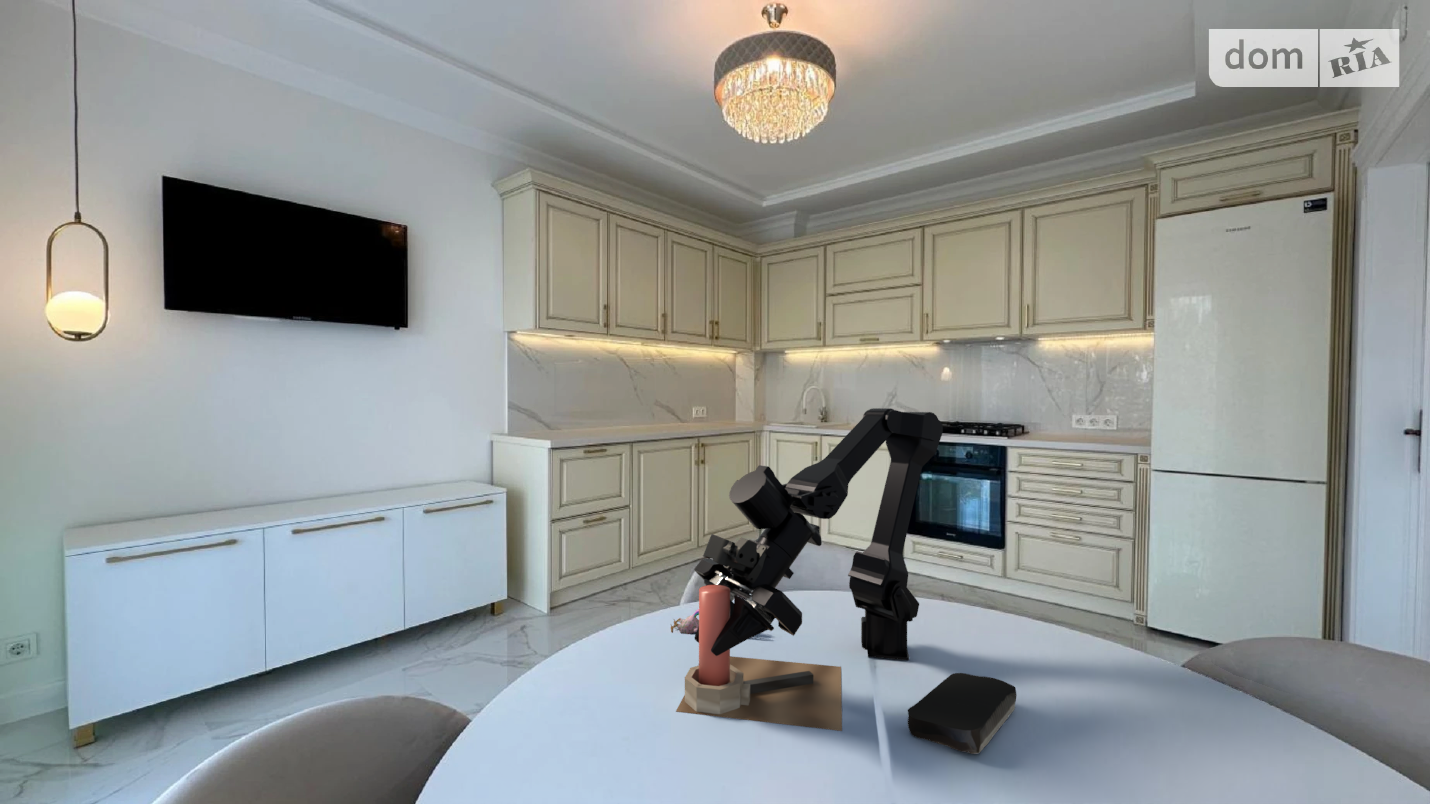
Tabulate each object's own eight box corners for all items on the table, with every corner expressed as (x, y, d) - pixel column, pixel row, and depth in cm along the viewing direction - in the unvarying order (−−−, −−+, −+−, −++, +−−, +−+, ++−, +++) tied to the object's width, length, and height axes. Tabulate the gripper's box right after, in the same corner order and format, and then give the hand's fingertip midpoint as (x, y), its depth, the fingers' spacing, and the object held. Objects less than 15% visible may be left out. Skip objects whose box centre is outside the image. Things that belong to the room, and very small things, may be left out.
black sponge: (975, 770, 62) (976, 735, 62) (901, 738, 68) (901, 707, 68) (1021, 713, 74) (1021, 684, 74) (954, 690, 80) (954, 664, 80)
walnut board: (841, 675, 84) (841, 645, 84) (841, 740, 67) (841, 704, 67) (706, 662, 88) (706, 634, 88) (675, 721, 71) (675, 686, 71)
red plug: (732, 692, 76) (732, 586, 76) (726, 708, 72) (727, 595, 72) (702, 689, 77) (703, 583, 77) (695, 704, 73) (695, 593, 73)
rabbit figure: (670, 647, 97) (758, 638, 95) (664, 611, 97) (752, 601, 95) (678, 633, 103) (761, 624, 101) (672, 599, 103) (755, 589, 101)
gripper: (706, 502, 85) (635, 589, 79) (783, 524, 68) (700, 636, 63) (751, 549, 89) (686, 636, 83) (833, 581, 72) (760, 691, 67)
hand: (705, 647), depth 74 cm, fingers closed on red plug, 4 cm apart
